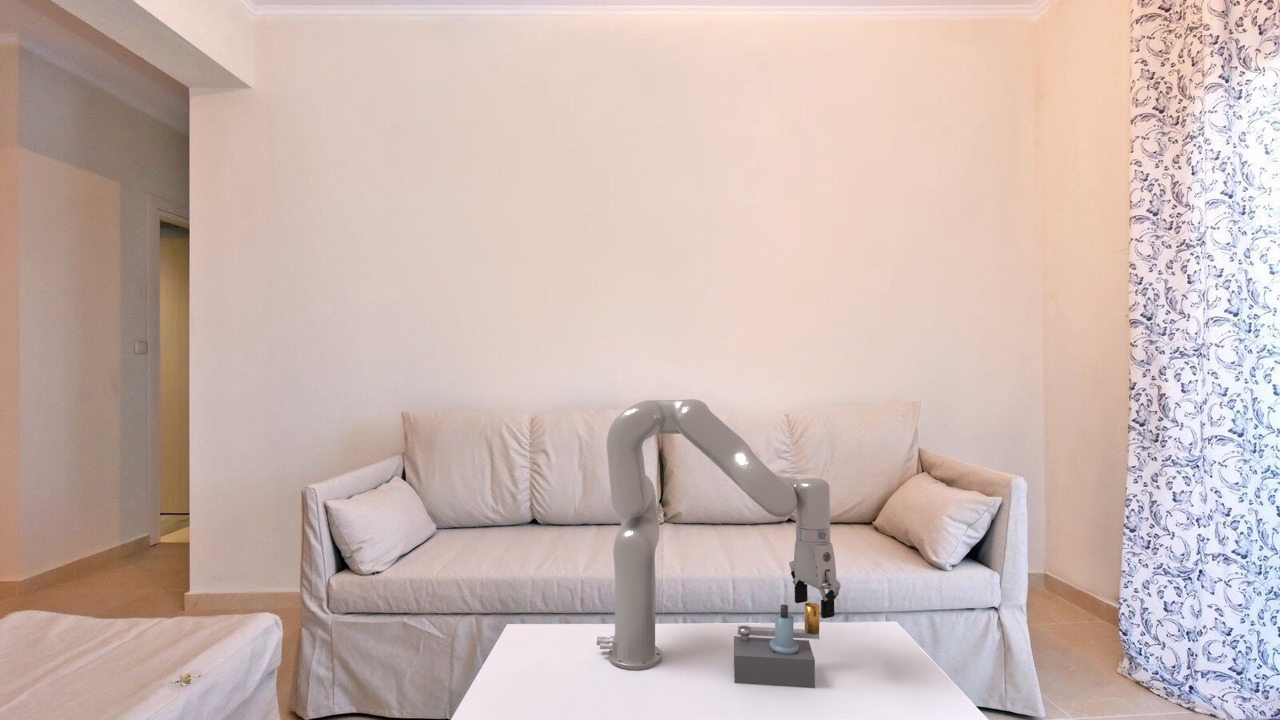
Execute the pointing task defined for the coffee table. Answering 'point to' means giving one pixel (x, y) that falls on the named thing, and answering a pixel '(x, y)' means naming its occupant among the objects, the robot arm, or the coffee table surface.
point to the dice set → (187, 678)
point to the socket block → (772, 664)
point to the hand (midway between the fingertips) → (814, 609)
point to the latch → (809, 631)
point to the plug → (784, 634)
